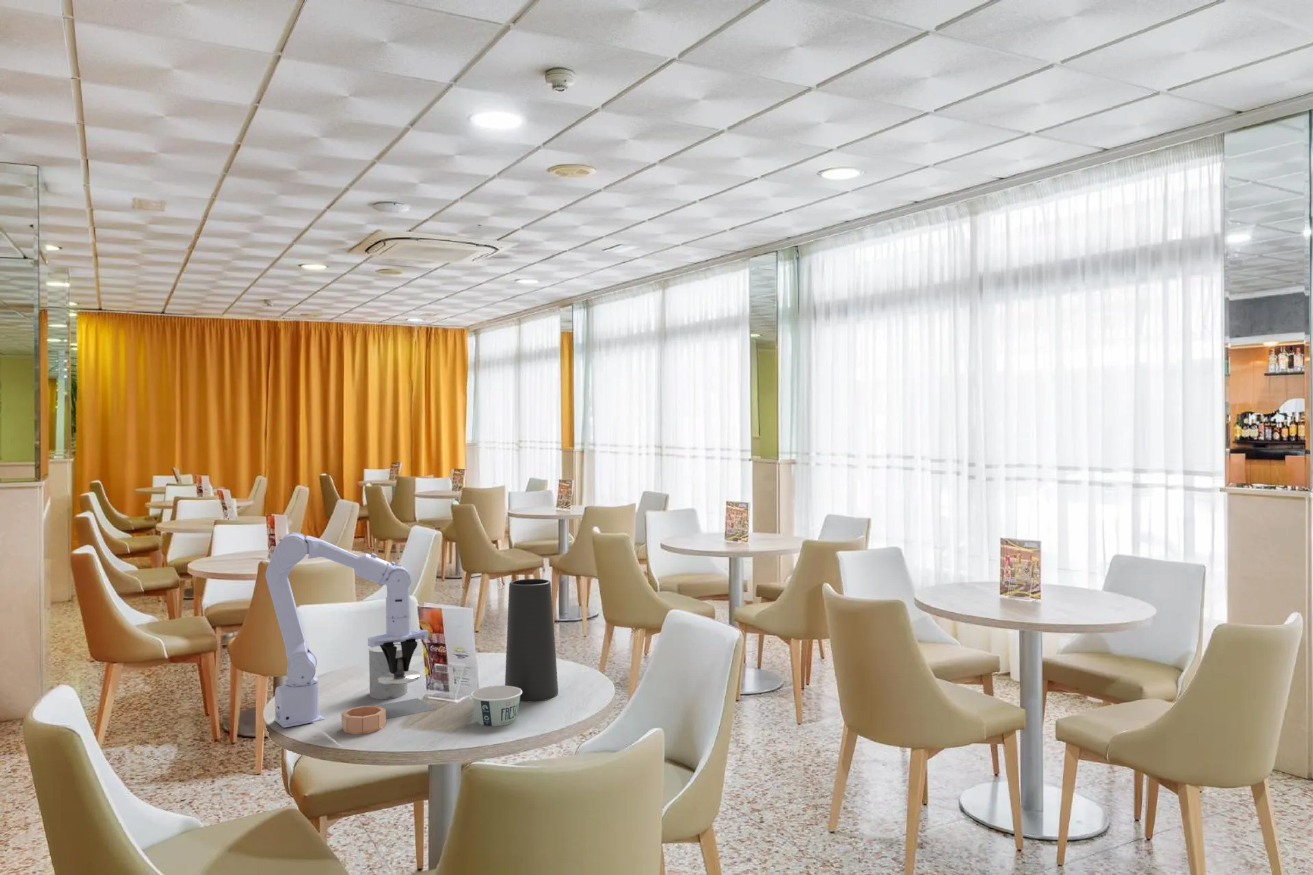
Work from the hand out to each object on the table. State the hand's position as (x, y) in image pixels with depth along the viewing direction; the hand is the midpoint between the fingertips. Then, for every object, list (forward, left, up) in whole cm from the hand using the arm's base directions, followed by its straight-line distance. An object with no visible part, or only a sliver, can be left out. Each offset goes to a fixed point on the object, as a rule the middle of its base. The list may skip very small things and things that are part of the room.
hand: (399, 671), depth 228 cm
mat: (0, 0, -9) cm, 9 cm away
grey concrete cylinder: (+3, +15, -10) cm, 18 cm away
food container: (+15, -22, -10) cm, 28 cm away
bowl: (-12, -9, -9) cm, 18 cm away
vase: (+32, -8, -10) cm, 34 cm away
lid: (0, 0, -2) cm, 2 cm away
